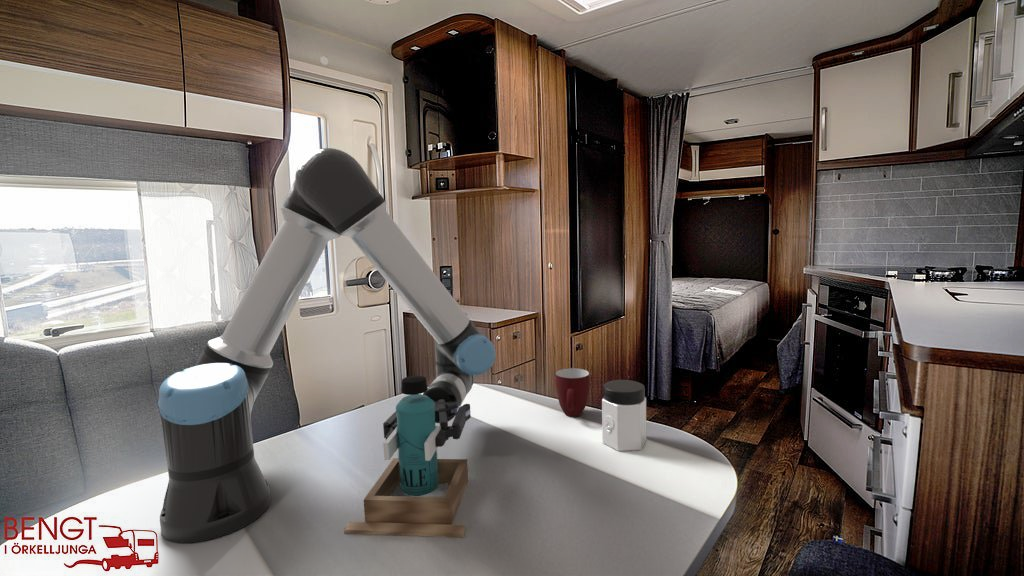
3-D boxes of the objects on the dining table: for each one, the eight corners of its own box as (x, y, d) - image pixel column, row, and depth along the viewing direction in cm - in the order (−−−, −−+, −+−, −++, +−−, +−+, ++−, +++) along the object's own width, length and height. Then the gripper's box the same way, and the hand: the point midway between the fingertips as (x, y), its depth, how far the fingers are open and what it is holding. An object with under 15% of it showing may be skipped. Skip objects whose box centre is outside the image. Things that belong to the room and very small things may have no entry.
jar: (594, 439, 100) (593, 384, 99) (623, 430, 104) (622, 376, 103) (625, 456, 92) (624, 396, 91) (655, 445, 97) (655, 387, 95)
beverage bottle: (435, 481, 84) (429, 369, 81) (444, 500, 77) (438, 380, 75) (397, 489, 81) (390, 374, 79) (403, 510, 75) (395, 386, 73)
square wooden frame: (344, 533, 71) (342, 508, 71) (382, 479, 87) (381, 458, 86) (463, 537, 70) (462, 511, 69) (481, 481, 85) (480, 459, 85)
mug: (592, 424, 108) (591, 381, 106) (556, 424, 108) (555, 381, 107) (589, 407, 118) (588, 368, 117) (556, 407, 119) (555, 368, 118)
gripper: (490, 416, 95) (468, 476, 72) (399, 416, 97) (349, 474, 74) (488, 379, 94) (466, 428, 72) (396, 380, 96) (345, 427, 73)
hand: (406, 451), depth 73 cm, fingers closed on beverage bottle, 6 cm apart
